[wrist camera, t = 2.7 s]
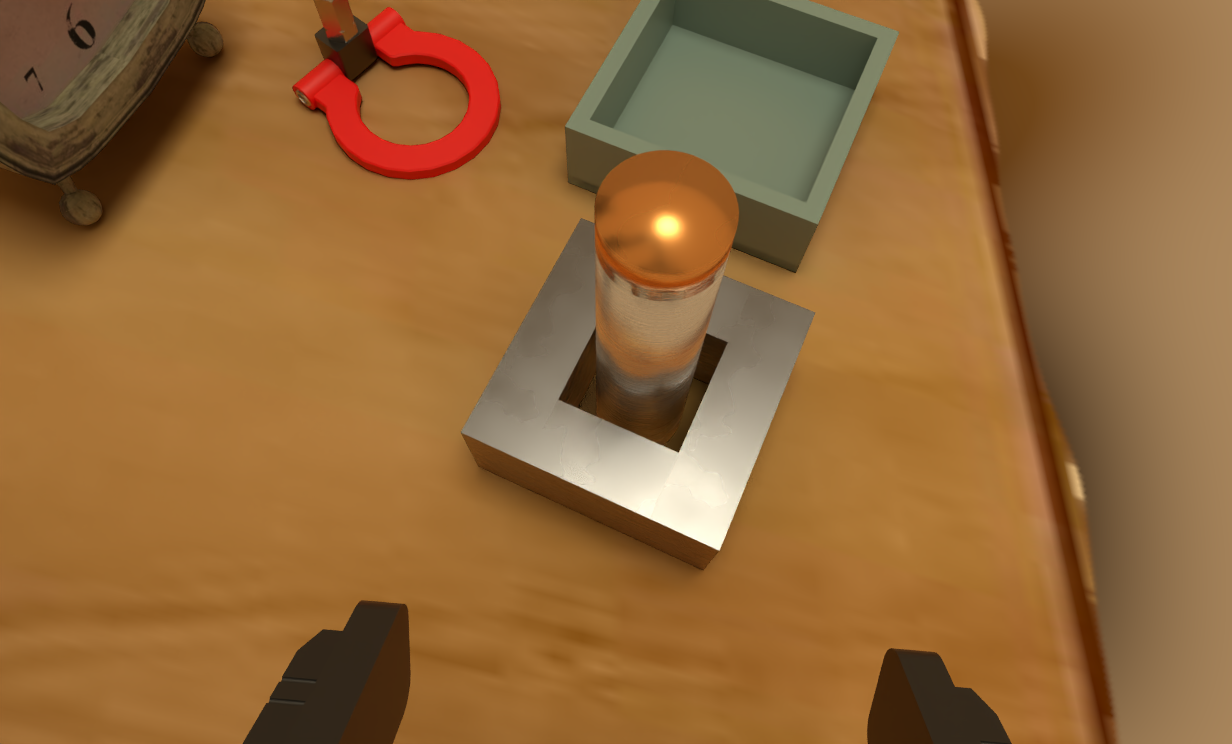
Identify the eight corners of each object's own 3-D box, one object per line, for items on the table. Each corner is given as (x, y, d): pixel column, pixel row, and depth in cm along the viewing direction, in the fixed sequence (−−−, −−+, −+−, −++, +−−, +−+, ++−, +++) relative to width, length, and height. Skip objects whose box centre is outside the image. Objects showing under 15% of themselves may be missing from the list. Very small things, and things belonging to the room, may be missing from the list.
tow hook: (535, 106, 40) (401, 13, 42) (521, -135, 28) (332, -253, 30) (421, 215, 38) (283, 112, 39) (352, 3, 26) (155, -134, 27)
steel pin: (660, 465, 33) (706, 294, 19) (582, 430, 33) (570, 238, 19) (693, 392, 34) (759, 180, 20) (617, 359, 34) (630, 131, 21)
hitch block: (703, 570, 31) (719, 550, 27) (478, 466, 32) (460, 432, 28) (789, 358, 35) (815, 312, 30) (583, 273, 36) (581, 218, 32)
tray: (795, 272, 36) (817, 224, 32) (568, 182, 38) (565, 126, 34) (871, 92, 40) (899, 31, 37) (663, 18, 42) (669, -48, 38)
